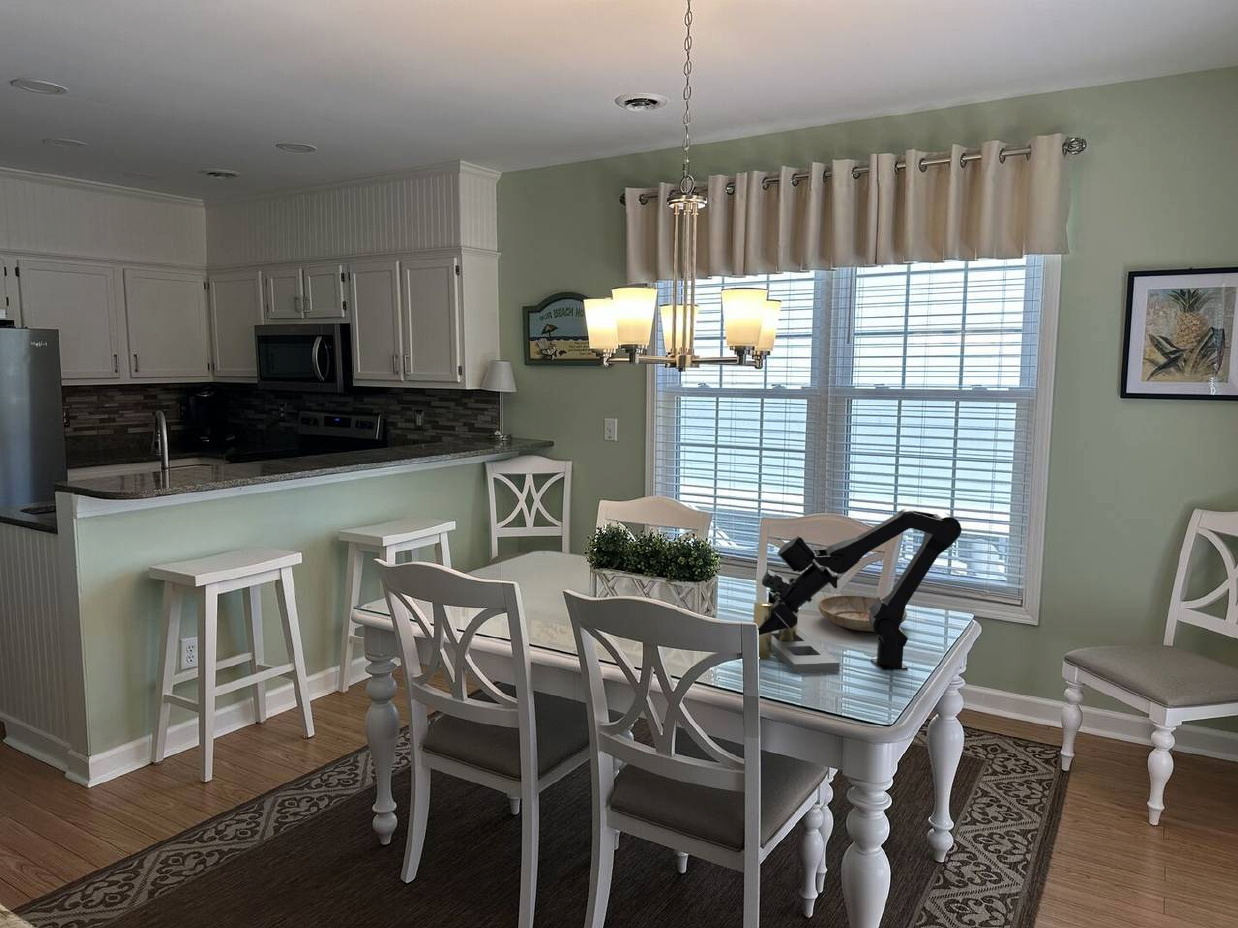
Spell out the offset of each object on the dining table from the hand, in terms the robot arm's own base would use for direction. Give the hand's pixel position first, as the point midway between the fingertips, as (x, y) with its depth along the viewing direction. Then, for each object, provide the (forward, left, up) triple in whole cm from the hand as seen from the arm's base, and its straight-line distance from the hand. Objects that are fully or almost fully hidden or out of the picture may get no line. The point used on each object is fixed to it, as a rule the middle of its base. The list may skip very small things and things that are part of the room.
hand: (756, 627), depth 205 cm
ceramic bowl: (+22, -38, -8) cm, 44 cm away
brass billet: (0, -1, -7) cm, 7 cm away
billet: (+7, -11, -7) cm, 15 cm away
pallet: (+1, -11, -7) cm, 13 cm away
